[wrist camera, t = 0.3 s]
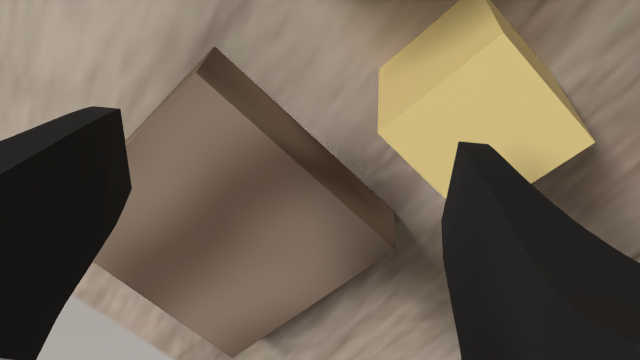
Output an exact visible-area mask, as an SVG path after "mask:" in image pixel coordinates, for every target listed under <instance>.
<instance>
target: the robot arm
mask: <svg viewBox="0 0 640 360" xmlns="http://www.w3.org/2000/svg"><path fill="white" fill-rule="evenodd" d="M131 190H132V185H131V179H130V172H129V165H128V158H127V151H126V145H125V138H124V131H123V124H122V117H121V111H120V109H115V108H105V107H94V106H92V107H88V108H84V109H81V110H78V111H75V112H72V113H70V114H67V115H64V116H62V117H59V118H57V119H54V120H52V121H49V122H47V123H44V124H42V125H39V126H37V127H35V128H32V129H30V130H27V131H25V132H22V133H20V134H17V135H15V136H13V137H10V138H8V139H5V140H2V141H0V360H36V359H37V356H38V355H39V353H40V351H41V349H42V347H43V345H44V343H45V341H46V339H47V337H48V335H49V333H50V331H51V329H52V327H53V324H54V323H55V321H56V319H57V317H58V315H59V314H60V312H61V310H62V308H63V307H64V305H65V303H66V302H67V300H68V299H69V297H70V296H71V294H72V293H73V291H74V290H75V288H76V286H77V285H78V283H79V282H80V280H81V279H82V277H83V276H84V274H85V273H86V271H87V270H88V268H89V267H90V265H91V264H92V262H93V260H94V259H95V257H96V256H97V254H98V253H99V251H100V250H101V248H102V247H103V245H104V243H105V242H106V240H107V239H108V237H109V236H110V234H111V232H112V231H113V229H114V228H115V226H116V224H117V222H118V220H119V218H120V215H121V213H122V211H123V209H124V207H125V204H126V202H127V199H128V197H129V195H130V192H131ZM442 244H443V260H444V266H445V272H446V277H447V282H448V288H449V293H450V298H451V303H452V309H453V314H454V319H455V324H456V329H457V335H458V340H459V345H460V351H461V358H462V360H640V263H638V262H636V261H635V260H633V259H631V258H629V257H628V256H626V255H624V254H623V253H621V252H620V251H618V250H616V249H615V248H613V247H612V246H610V245H609V244H607V243H606V242H604V241H603V240H601V239H600V238H598V237H597V236H595V235H594V234H592V233H591V232H589V231H588V230H586V229H585V228H584V227H582V226H581V225H580V224H578V223H577V222H576V221H574V220H573V219H572V218H570V217H569V216H568V215H567V214H565V213H564V212H563V211H562V210H560V209H559V208H558V207H557V206H555V205H554V204H553V203H552V202H551V201H550V200H548V199H547V198H546V197H545V196H544V195H543V194H541V193H540V192H539V191H538V190H537V189H536V188H535V187H534V186H533V185H532V184H530V183H529V182H528V181H527V180H526V179H525V178H524V177H523V176H522V175H521V174H520V173H519V172H518V171H517V170H516V169H515V168H514V167H513V166H512V165H511V164H509V163H508V162H507V161H506V160H505V159H504V158H503V157H502V156H501V155H500V154H499V153H498V152H497V151H496V150H495V149H494V148H492V147H491V146H490V145H489V144H482V143H471V142H461V141H459V142H458V146H457V151H456V156H455V160H454V165H453V170H452V174H451V179H450V184H449V188H448V193H447V198H446V202H445V207H444V212H443V216H442Z"/></svg>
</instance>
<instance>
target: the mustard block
mask: <svg viewBox="0 0 640 360" xmlns="http://www.w3.org/2000/svg"><path fill="white" fill-rule="evenodd" d="M378 134H379V135H380V136H381V137H382V138H383V139H384V140H385V141H386V142H387V143H388V144H389V145H390V146H391V147H393V148H394V149H395V150H396V151H397V152H398V153H399V154H400V155H401V156H402V157H403V158H404V159H405V160H406V161H407V162H408V163H409V164H410V165H411V166H412V167H413V168H414V169H415V170H416V171H417V172H418V173H419V174H420V175H421V176H422V177H423V178H424V179H425V180H426V181H427V182H428V183H430V184H431V185H432V186H433V187H434V188H435V189H436V190H437V191H438V192H439V193H440V194H441V195H442V196H443V197H444V198H445V199H446V198H447V193H448V188H449V184H450V179H451V174H452V170H453V165H454V160H455V156H456V151H457V146H458V142H459V141H461V142H471V143H482V144H489V145H490V146H491V147H492V148H494V149H495V150H496V151H497V152H498V153H499V154H500V155H501V156H502V157H503V158H504V159H505V160H506V161H507V162H508V163H509V164H511V165H512V166H513V167H514V168H515V169H516V170H517V171H518V172H519V173H520V174H521V175H522V176H523V177H524V178H525V179H526V180H527V181H528V182H529V183H530V184H531V183H533V182H535V181H536V180H538V179H539V178H541V177H542V176H544V175H545V174H547V173H549V172H550V171H552V170H553V169H555V168H556V167H558V166H559V165H561V164H563V163H564V162H566V161H567V160H569V159H570V158H572V157H573V156H575V155H577V154H578V153H580V152H581V151H583V150H584V149H586V148H587V147H589V146H591V145H592V144H594V143H595V141H594V139H593V138H592V136H591V134H590V133H589V131H588V130H587V128H586V127H585V125H584V123H583V122H582V120H581V119H580V117H579V116H578V114H577V112H576V111H575V109H574V108H573V106H572V105H571V103H570V101H569V100H568V98H567V97H566V95H565V94H564V92H563V91H562V89H561V87H560V86H559V84H558V83H557V81H556V80H555V78H554V76H553V75H552V74H551V73H550V71H549V70H548V69H547V68H546V66H545V65H544V64H543V63H542V62H541V60H540V59H539V58H538V57H537V56H536V54H535V53H534V52H533V51H532V50H531V48H530V47H529V46H528V45H527V44H526V42H525V41H524V40H523V39H522V38H521V36H520V35H519V34H518V33H517V32H516V30H515V29H514V28H513V27H512V26H511V24H510V23H509V22H508V21H507V20H506V18H505V17H504V16H503V15H502V14H501V12H500V11H499V10H498V9H497V8H496V6H495V5H494V4H493V3H492V2H491V0H459V1H458V2H457V3H456V4H454V5H453V6H452V7H451V8H450V9H449V10H447V11H446V12H445V13H444V14H443V15H442V16H441V17H439V18H438V19H437V20H436V21H435V22H434V23H432V24H431V25H430V26H429V27H428V28H427V29H425V30H424V31H423V32H422V33H421V34H420V35H418V36H417V37H416V38H415V39H414V40H413V41H411V42H410V43H409V44H408V45H407V46H406V47H405V48H403V49H402V50H401V51H400V52H399V53H398V54H396V55H395V56H394V57H393V58H392V59H391V60H389V61H388V62H387V63H386V64H385V65H384V66H382V67H381V68H380V69H379V93H378Z"/></svg>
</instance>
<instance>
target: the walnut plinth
mask: <svg viewBox="0 0 640 360" xmlns="http://www.w3.org/2000/svg"><path fill="white" fill-rule="evenodd" d="M125 145H126V151H127V158H128V165H129V172H130V179H131V185H132V190H131V192H130V195H129V197H128V199H127V202H126V204H125V207H124V209H123V211H122V213H121V215H120V218H119V220H118V222H117V224H116V226H115V228H114V229H113V231H112V232H111V234H110V236H109V237H108V239H107V240H106V242H105V243H104V245H103V247H102V248H101V250H100V251H99V253H98V254H97V256H96V257H95V259H94V260H93V262H94V263H96V264H97V265H99V266H100V267H102V268H103V269H104V270H106V271H107V272H109V273H110V274H112V275H113V276H115V277H116V278H117V279H119V280H120V281H122V282H123V283H125V284H126V285H128V286H129V287H130V288H132V289H133V290H135V291H136V292H138V293H139V294H141V295H142V296H143V297H145V298H146V299H148V300H149V301H151V302H152V303H153V304H155V305H156V306H158V307H159V308H161V309H162V310H164V311H165V312H166V313H168V314H169V315H171V316H172V317H174V318H175V319H177V320H178V321H179V322H181V323H182V324H184V325H185V326H187V327H188V328H190V329H191V330H192V331H194V332H195V333H197V334H198V335H200V336H201V337H202V338H204V339H205V340H207V341H208V342H210V343H211V344H213V345H214V346H215V347H217V348H218V349H220V350H221V351H223V352H224V353H226V354H227V355H228V356H230V357H231V358H233V357H235V356H236V355H238V354H239V353H241V352H242V351H244V350H245V349H247V348H248V347H250V346H251V345H253V344H254V343H256V342H257V341H259V340H260V339H262V338H263V337H265V336H266V335H268V334H269V333H271V332H272V331H274V330H275V329H277V328H278V327H280V326H281V325H283V324H284V323H286V322H287V321H289V320H290V319H292V318H293V317H295V316H296V315H298V314H299V313H301V312H302V311H304V310H305V309H307V308H308V307H310V306H311V305H313V304H314V303H316V302H317V301H319V300H320V299H322V298H323V297H325V296H326V295H328V294H329V293H331V292H332V291H334V290H335V289H337V288H338V287H340V286H341V285H343V284H344V283H346V282H347V281H349V280H350V279H352V278H353V277H355V276H356V275H358V274H359V273H361V272H362V271H364V270H365V269H367V268H368V267H370V266H371V265H373V264H374V263H376V262H377V261H379V260H380V259H382V258H383V257H385V256H386V255H388V254H389V253H391V252H392V251H394V250H395V224H394V211H393V210H392V209H391V208H389V207H388V206H387V205H386V204H385V203H384V202H383V201H382V200H381V199H380V198H379V197H377V196H376V195H375V194H374V193H373V192H372V191H371V190H370V189H369V188H368V187H367V186H365V185H364V184H363V183H362V182H361V181H360V180H359V179H358V178H357V177H356V176H355V175H354V174H352V173H351V172H350V171H349V170H348V169H347V168H346V167H345V166H344V165H343V164H342V163H340V162H339V161H338V160H337V159H336V158H335V157H334V156H333V155H332V154H331V153H330V152H328V151H327V150H326V149H325V148H324V147H323V146H322V145H321V144H320V143H319V142H318V141H317V140H315V139H314V138H313V137H312V136H311V135H310V134H309V133H308V132H307V131H306V130H305V129H303V128H302V127H301V126H300V125H299V124H298V123H297V122H296V121H295V120H294V119H293V118H291V117H290V116H289V115H288V114H287V113H286V112H285V111H284V110H283V109H282V108H281V107H280V106H278V105H277V104H276V103H275V102H274V101H273V100H272V99H271V98H270V97H269V96H268V95H266V94H265V93H264V92H263V91H262V90H261V89H260V88H259V87H258V86H257V85H256V84H254V83H253V82H252V81H251V80H250V79H249V78H248V77H247V76H246V75H245V74H244V73H243V72H241V71H240V70H239V69H238V68H237V67H236V66H235V65H234V64H233V63H232V62H231V61H229V60H228V59H227V58H226V57H225V56H224V55H223V54H222V53H221V52H220V51H219V50H217V49H216V48H215V47H213V48H212V49H211V51H210V52H209V53H208V54H207V55H206V56H205V57H204V58H203V59H202V60H201V61H200V62H199V63H198V64H197V65H196V67H195V68H194V69H193V70H192V71H191V72H190V73H189V74H188V75H187V76H186V77H185V78H184V79H183V80H182V81H181V83H180V84H179V85H178V86H177V87H176V88H175V89H174V90H173V91H172V92H171V93H170V94H169V95H168V96H167V97H166V99H165V100H164V101H163V102H162V103H161V104H160V105H159V106H158V107H157V108H156V109H155V110H154V111H153V112H152V113H151V114H150V116H149V117H148V118H147V119H146V120H145V121H144V122H143V123H142V124H141V125H140V126H139V127H138V128H137V129H136V130H135V132H134V133H133V134H132V135H131V136H130V137H129V138H128V139H127V140H126V141H125Z"/></svg>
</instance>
